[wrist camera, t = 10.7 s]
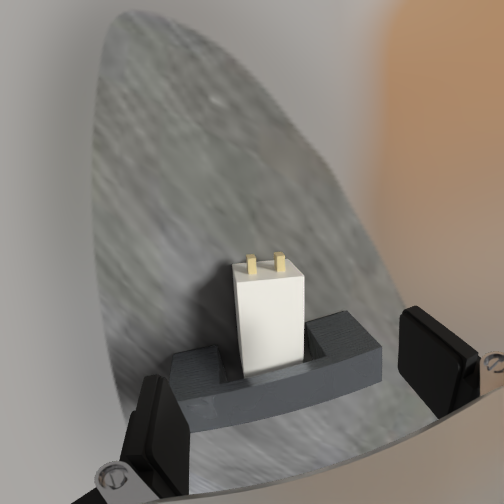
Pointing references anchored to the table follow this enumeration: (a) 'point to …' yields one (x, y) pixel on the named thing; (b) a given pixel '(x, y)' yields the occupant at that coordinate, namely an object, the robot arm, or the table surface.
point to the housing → (277, 377)
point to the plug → (269, 314)
